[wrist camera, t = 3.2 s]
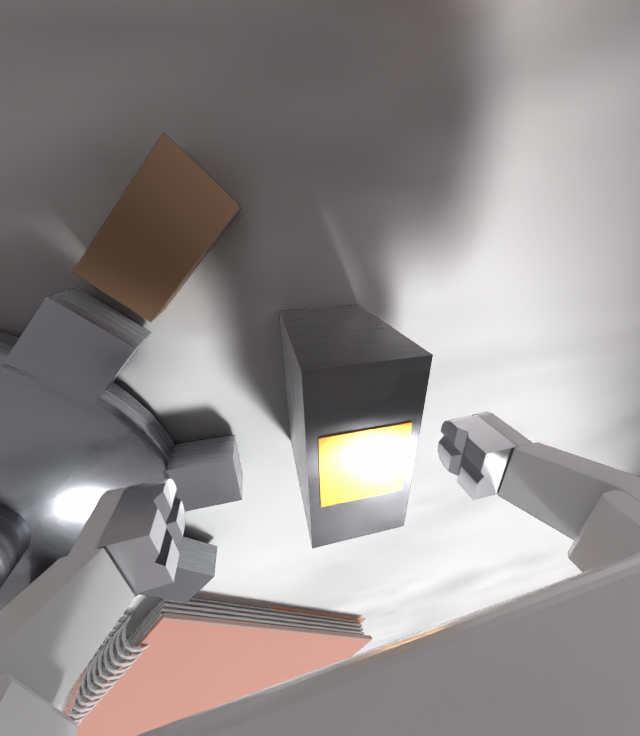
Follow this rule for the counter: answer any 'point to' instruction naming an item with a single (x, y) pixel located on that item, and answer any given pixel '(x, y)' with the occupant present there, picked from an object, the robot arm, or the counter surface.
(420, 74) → the counter surface
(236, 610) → the notebook
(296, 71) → the counter surface
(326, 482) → the grey and orange block
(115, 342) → the sprocket
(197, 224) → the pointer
